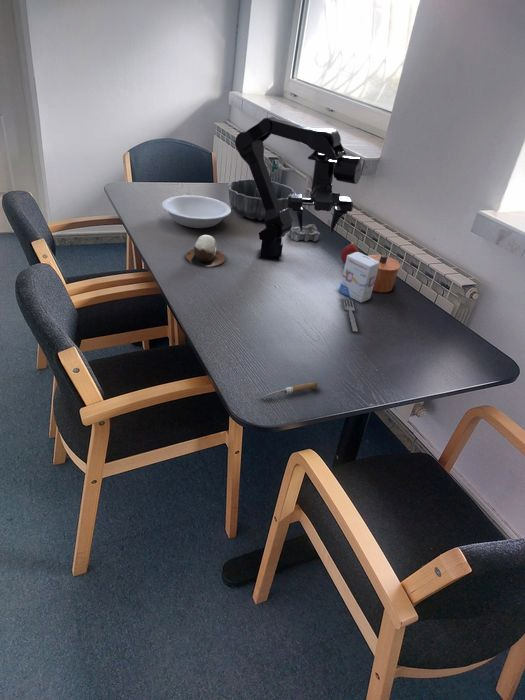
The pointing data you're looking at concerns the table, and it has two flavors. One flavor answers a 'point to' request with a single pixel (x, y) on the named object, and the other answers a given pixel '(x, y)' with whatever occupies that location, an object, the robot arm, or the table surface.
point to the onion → (348, 251)
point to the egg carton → (304, 233)
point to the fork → (351, 314)
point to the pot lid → (386, 262)
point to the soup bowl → (196, 210)
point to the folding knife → (292, 389)
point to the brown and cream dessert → (205, 252)
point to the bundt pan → (254, 198)
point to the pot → (384, 281)
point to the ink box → (359, 276)
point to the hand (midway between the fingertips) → (316, 231)
